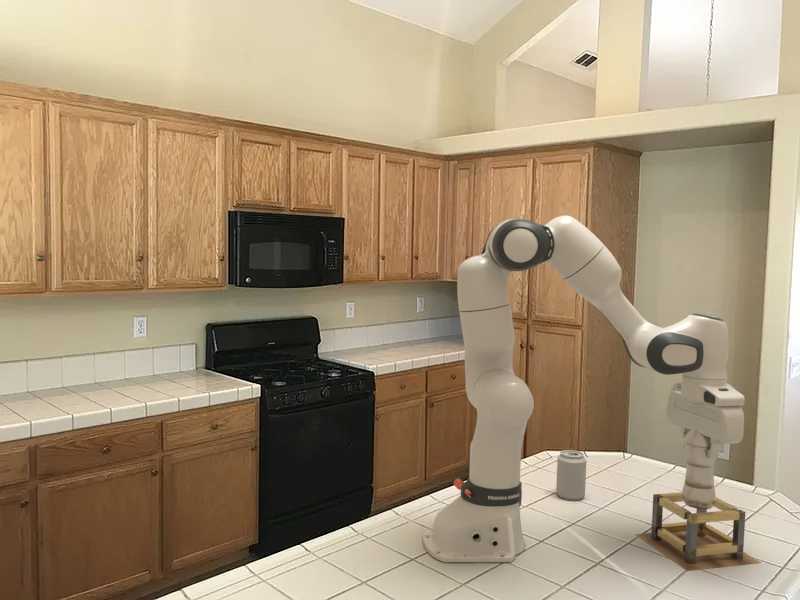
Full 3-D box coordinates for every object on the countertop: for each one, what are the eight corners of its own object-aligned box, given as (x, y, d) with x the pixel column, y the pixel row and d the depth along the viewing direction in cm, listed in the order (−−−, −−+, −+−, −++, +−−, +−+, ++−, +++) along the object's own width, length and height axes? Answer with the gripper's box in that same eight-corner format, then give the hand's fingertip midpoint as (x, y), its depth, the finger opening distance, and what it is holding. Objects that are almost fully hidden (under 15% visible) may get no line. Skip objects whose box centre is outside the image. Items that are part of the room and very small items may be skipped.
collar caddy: (689, 564, 137) (692, 516, 137) (651, 537, 150) (653, 494, 149) (742, 558, 141) (745, 512, 140) (700, 533, 153) (703, 490, 152)
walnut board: (686, 576, 134) (687, 570, 134) (634, 539, 152) (634, 534, 152) (761, 568, 139) (761, 562, 139) (702, 533, 156) (702, 528, 156)
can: (588, 495, 180) (590, 451, 179) (579, 503, 174) (581, 458, 173) (561, 489, 184) (563, 446, 183) (552, 497, 178) (553, 453, 177)
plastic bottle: (718, 514, 141) (724, 420, 140) (684, 511, 142) (690, 417, 141) (710, 504, 147) (715, 414, 146) (677, 501, 148) (682, 411, 147)
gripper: (660, 381, 152) (657, 440, 153) (724, 400, 132) (720, 468, 133) (684, 380, 154) (681, 439, 155) (751, 399, 134) (747, 466, 135)
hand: (700, 453), depth 144 cm, fingers closed on plastic bottle, 6 cm apart
